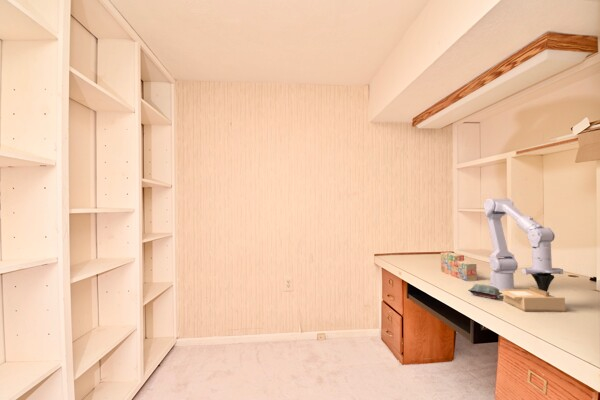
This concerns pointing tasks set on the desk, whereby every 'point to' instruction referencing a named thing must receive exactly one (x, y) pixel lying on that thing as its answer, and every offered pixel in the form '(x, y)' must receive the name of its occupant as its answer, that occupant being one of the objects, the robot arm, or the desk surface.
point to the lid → (525, 293)
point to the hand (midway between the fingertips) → (543, 292)
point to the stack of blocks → (458, 266)
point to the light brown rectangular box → (537, 303)
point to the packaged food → (485, 291)
